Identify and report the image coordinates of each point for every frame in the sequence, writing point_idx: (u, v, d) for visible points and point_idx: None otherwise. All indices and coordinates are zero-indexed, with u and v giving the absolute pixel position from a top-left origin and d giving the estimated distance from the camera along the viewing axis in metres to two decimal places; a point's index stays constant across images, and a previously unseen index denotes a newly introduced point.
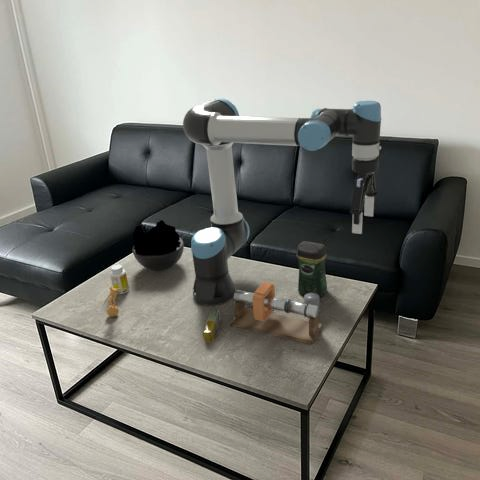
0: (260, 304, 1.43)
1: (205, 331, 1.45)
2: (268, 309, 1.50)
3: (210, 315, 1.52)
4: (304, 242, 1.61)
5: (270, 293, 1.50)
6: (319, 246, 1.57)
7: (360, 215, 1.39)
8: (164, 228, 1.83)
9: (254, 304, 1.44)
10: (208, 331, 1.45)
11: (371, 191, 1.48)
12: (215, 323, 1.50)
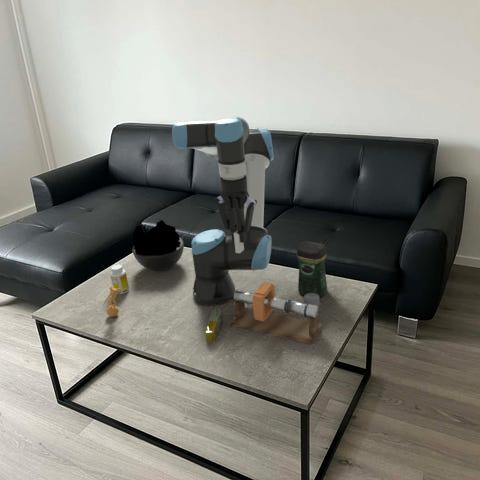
0: (260, 304, 1.43)
1: (207, 331, 1.45)
2: (268, 309, 1.50)
3: (212, 315, 1.52)
4: (304, 242, 1.61)
5: (270, 293, 1.50)
6: (319, 246, 1.57)
7: None
8: (164, 228, 1.83)
9: (254, 304, 1.44)
10: (210, 331, 1.45)
11: None
12: (217, 323, 1.50)
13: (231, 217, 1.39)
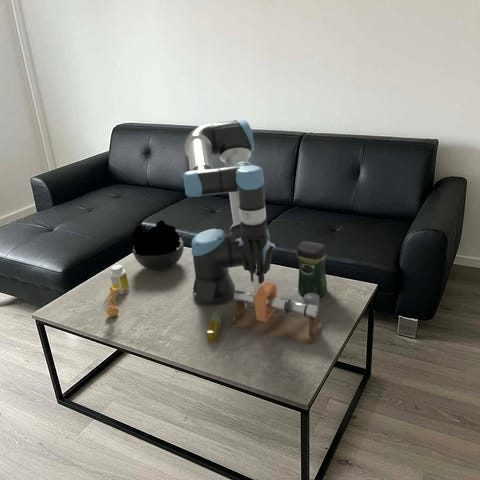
0: (262, 304, 1.43)
1: (208, 331, 1.45)
2: (269, 309, 1.49)
3: (213, 315, 1.52)
4: (304, 242, 1.61)
5: (272, 293, 1.50)
6: (319, 246, 1.57)
7: None
8: (164, 228, 1.83)
9: (256, 304, 1.44)
10: (211, 331, 1.44)
11: None
12: (218, 323, 1.49)
13: (250, 259, 1.42)
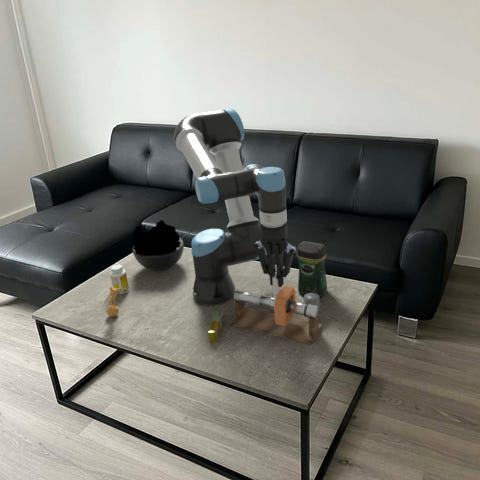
0: (282, 309, 1.40)
1: (209, 331, 1.45)
2: (288, 313, 1.47)
3: (214, 315, 1.52)
4: (304, 242, 1.61)
5: (291, 297, 1.47)
6: (319, 246, 1.57)
7: None
8: (164, 228, 1.83)
9: (275, 309, 1.41)
10: (212, 331, 1.44)
11: None
12: (219, 323, 1.49)
13: (270, 262, 1.39)
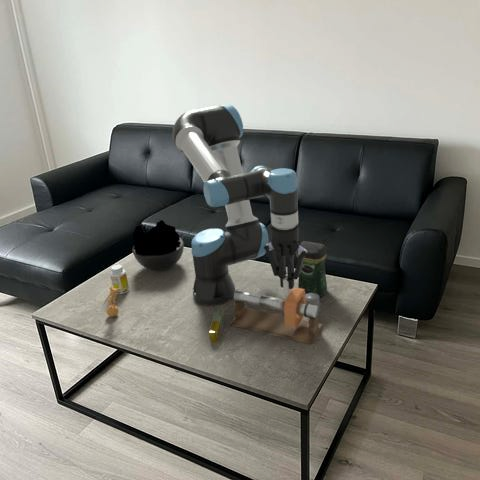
0: (292, 311, 1.39)
1: (210, 331, 1.45)
2: (298, 315, 1.45)
3: (214, 315, 1.52)
4: (304, 242, 1.61)
5: (301, 299, 1.45)
6: (319, 246, 1.57)
7: None
8: (164, 228, 1.83)
9: (286, 311, 1.40)
10: (213, 331, 1.44)
11: None
12: (220, 323, 1.49)
13: (281, 264, 1.38)
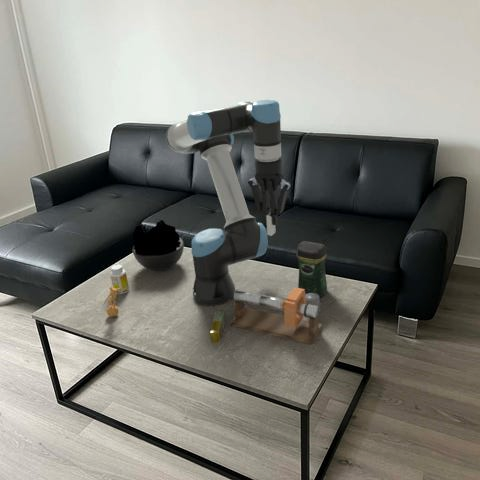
0: (292, 311, 1.39)
1: (212, 331, 1.44)
2: (298, 315, 1.45)
3: (216, 315, 1.52)
4: (304, 242, 1.61)
5: (301, 299, 1.45)
6: (319, 246, 1.57)
7: None
8: (164, 228, 1.83)
9: (286, 311, 1.40)
10: (215, 331, 1.44)
11: None
12: (221, 323, 1.49)
13: (264, 199, 1.39)
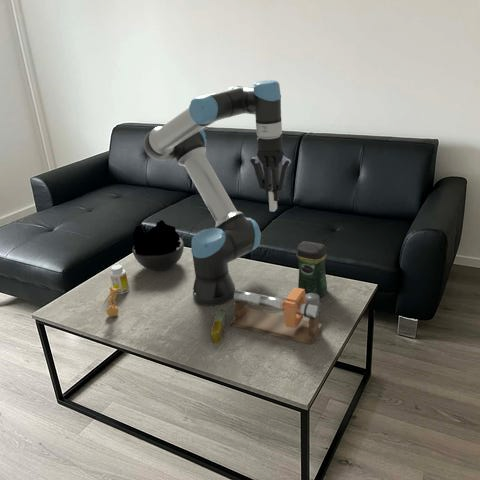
0: (292, 311, 1.39)
1: (213, 331, 1.44)
2: (298, 315, 1.45)
3: (216, 315, 1.52)
4: (304, 242, 1.61)
5: (301, 299, 1.45)
6: (319, 246, 1.57)
7: None
8: (164, 228, 1.83)
9: (286, 311, 1.40)
10: (216, 331, 1.44)
11: None
12: (222, 323, 1.49)
13: (266, 176, 1.46)
